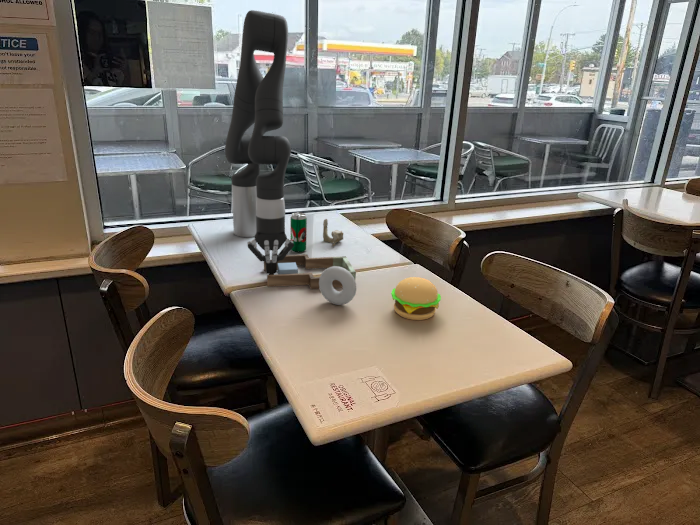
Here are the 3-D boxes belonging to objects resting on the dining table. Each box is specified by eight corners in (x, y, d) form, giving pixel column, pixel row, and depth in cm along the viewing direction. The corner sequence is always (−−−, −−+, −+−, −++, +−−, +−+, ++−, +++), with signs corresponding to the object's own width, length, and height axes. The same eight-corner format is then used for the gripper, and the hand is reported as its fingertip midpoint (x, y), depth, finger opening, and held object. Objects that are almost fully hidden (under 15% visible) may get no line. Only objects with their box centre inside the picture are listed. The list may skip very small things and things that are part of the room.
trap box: (263, 265, 144) (263, 256, 143) (343, 262, 150) (343, 252, 149) (268, 291, 128) (268, 281, 127) (358, 286, 134) (358, 276, 133)
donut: (357, 305, 123) (359, 268, 120) (351, 311, 120) (354, 273, 117) (322, 296, 127) (323, 260, 123) (315, 302, 124) (316, 265, 120)
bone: (352, 241, 164) (338, 217, 159) (337, 252, 162) (323, 229, 158) (340, 235, 171) (327, 212, 166) (326, 246, 170) (312, 223, 165)
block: (277, 274, 139) (277, 263, 138) (295, 273, 140) (295, 262, 139) (279, 281, 135) (279, 270, 133) (297, 280, 136) (297, 269, 135)
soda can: (307, 248, 160) (308, 212, 155) (304, 253, 155) (305, 217, 151) (292, 247, 160) (292, 211, 156) (288, 252, 156) (288, 215, 151)
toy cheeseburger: (381, 304, 124) (384, 273, 121) (422, 298, 129) (426, 268, 126) (404, 326, 114) (408, 292, 111) (448, 319, 119) (452, 286, 116)
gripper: (293, 209, 135) (293, 268, 141) (244, 210, 132) (246, 270, 138) (297, 217, 128) (296, 278, 134) (245, 218, 125) (247, 280, 131)
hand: (271, 274), depth 136 cm, fingers closed
